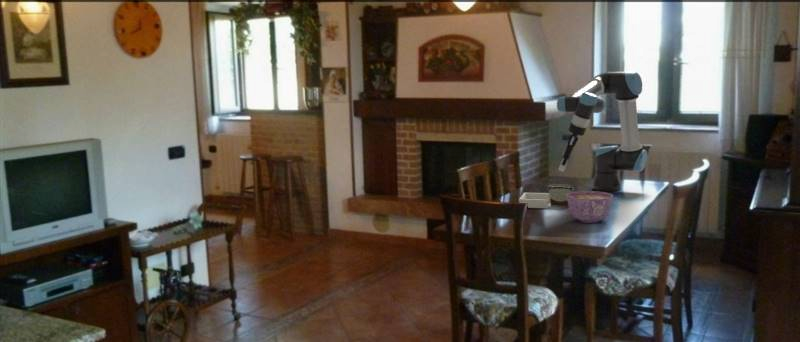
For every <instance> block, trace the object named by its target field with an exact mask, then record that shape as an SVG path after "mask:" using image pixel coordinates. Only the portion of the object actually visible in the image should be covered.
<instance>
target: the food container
mask: <svg viewBox="0 0 800 342" xmlns="http://www.w3.org/2000/svg"><path fill="white" fill-rule="evenodd" d="M547 190H548V193H549V195H550V202H549V203H550V207H565V208H566V207H568V208H569V205H568V201H567V196H566V194H568V193H571V192H573V191H574V187H573V185H571V184H565V183H555V184H549V185H548V186H547Z"/></svg>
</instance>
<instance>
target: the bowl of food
mask: <svg viewBox="0 0 800 342" xmlns="http://www.w3.org/2000/svg"><path fill="white" fill-rule="evenodd" d="M566 196H567V201H568V205H569V207H568V208H569V213H570V214H571V215H572V217H573V218H574V219H576V220H578V221H579V222H581V223H587V224H591V223H592V224H593V223H594V224H595V223H598V222H599V221H603V220H604V219H606V218H607V216H608V215H609V213H610V210H611V206H612V202H613V199H614V194H612V193H609V192H606V191H605V192H604V191H599V190H596V191H594V190H581V191H580V190H578V191H572V192H571V193H568V194H566Z"/></svg>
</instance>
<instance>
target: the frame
mask: <svg viewBox="0 0 800 342" xmlns="http://www.w3.org/2000/svg"><path fill="white" fill-rule="evenodd" d="M518 203H528V208H527V209H529V208H530V209H549V203H550V195H549V192H523V194H521V196H520V197H519V198H518Z"/></svg>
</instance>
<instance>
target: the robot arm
mask: <svg viewBox="0 0 800 342" xmlns="http://www.w3.org/2000/svg"><path fill="white" fill-rule="evenodd" d="M642 92H643V81H642V77H641V76H640V74H639V73H638V72H636V71H628V70H627V71H606V72H602V73H600V74H597V75H595V76H593V77H591V78H590V79H588V81H587V82H586V84H585V85H583V86H581V87H580V88H579V89H577V90H575V91H574V92H573V93H572V94H570V95H568V96H559V97H558V98H557V101H556V109H557V110H558V112H560V113H565V114H566V113H572V114H573V113H574V114H573V115H572V116H571V117H572V120H571V122H570V124H569V127H568V131H569V133H572V134H570V135H569V138H568V141H567V146H566V149H565V151H564V155H562V156H561V159H562V160H561V161H560V164H559V167H558V171H560V172H562V173H564V172H565V170H566V167H567V165H568V162H569V160H571V158H572V157H571V154H572V152H573V149H574V148H575V145H576V143H577V142H578V140H579V137H578V136H584V135H585V133H586V131H587V127H588V125H589V123H590V120H591V117H592V116H593V114H599V113H602V112H603V111H604V110H605V109H606V106H607V105H606V104H607V103H606V100H605V99H604V98H603V97H600V96H601V95H614V97H615V101H617V102H618V110H619V111H618V112H619V123H620V133H621V145H620V146H619V145H607V146H600V147H598V148H596V151H595V176H594V178H593V181H592V185H591V187H592V188H591V189H592V190H596V191H602V192H604V191H605V192H607V191H608V192H610V191H620V190H621V189H622V184H621V180H620V178H619V171H623V172H643V170H644V169H645V168H646V165H647V161H648V151H647V150H646V149H643V148H644V147H643V144H641V143H640V137H639V136H640V135H639V123H638V110H637V107H638V106H637V99H638V98H639V96H640V95H641V93H642Z"/></svg>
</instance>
